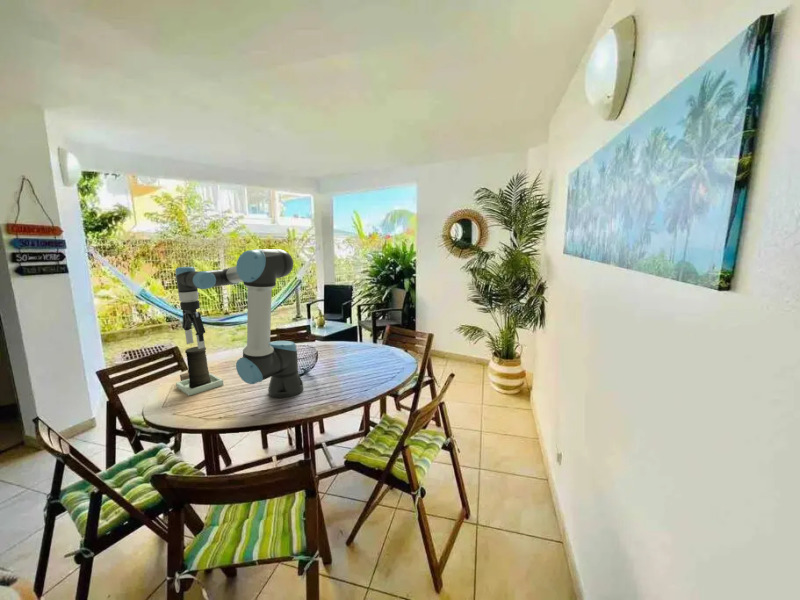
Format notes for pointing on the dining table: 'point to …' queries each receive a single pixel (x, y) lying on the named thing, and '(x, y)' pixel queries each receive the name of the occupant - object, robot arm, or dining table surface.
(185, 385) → the tray
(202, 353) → the container
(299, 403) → the dining table surface
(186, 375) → the walnut block
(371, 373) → the dining table surface
